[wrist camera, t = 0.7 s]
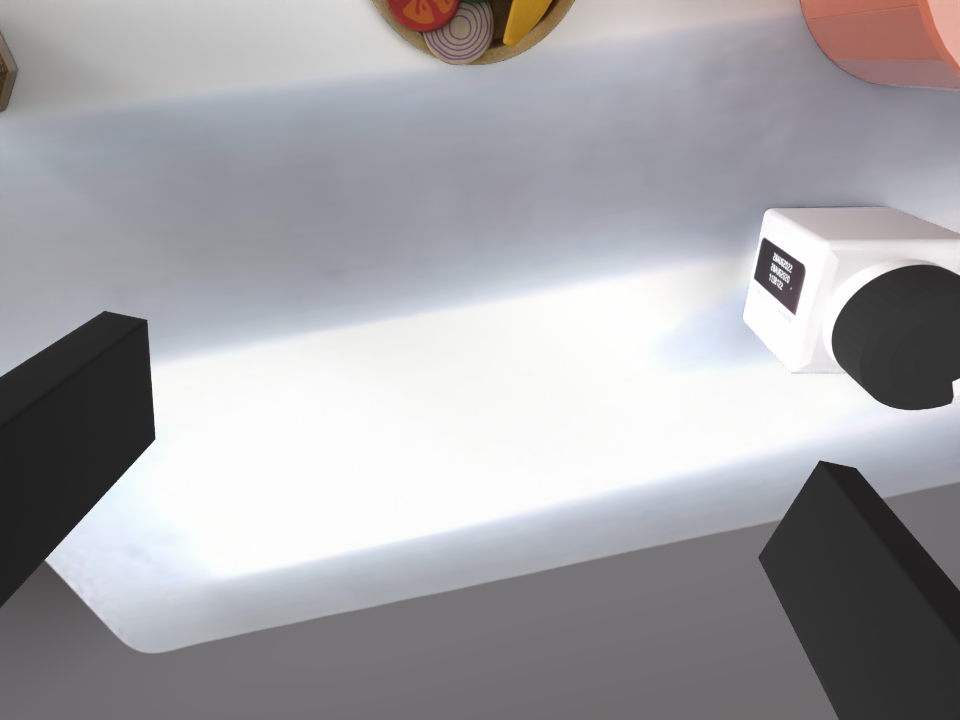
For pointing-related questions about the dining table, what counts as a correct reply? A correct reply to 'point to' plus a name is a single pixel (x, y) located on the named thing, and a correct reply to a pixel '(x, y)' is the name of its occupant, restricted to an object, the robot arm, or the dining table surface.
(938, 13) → the lid
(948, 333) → the container
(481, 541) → the dining table surface
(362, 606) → the dining table surface
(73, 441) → the robot arm
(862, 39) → the pot
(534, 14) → the toy sandwich meal
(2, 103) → the ceramic cup
